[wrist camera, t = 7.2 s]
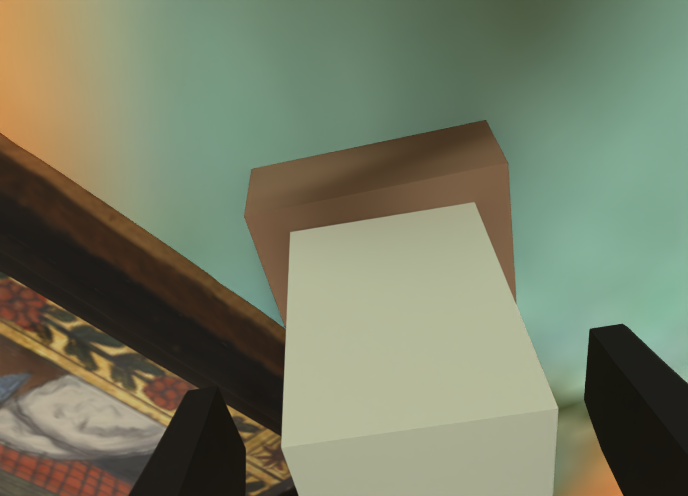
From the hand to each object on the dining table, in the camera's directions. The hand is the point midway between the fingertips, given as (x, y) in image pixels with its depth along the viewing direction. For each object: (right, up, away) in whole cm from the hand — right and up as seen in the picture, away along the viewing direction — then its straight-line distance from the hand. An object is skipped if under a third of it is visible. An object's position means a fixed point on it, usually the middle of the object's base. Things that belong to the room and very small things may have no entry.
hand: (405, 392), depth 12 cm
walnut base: (0, +3, +4) cm, 5 cm away
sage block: (0, +2, +2) cm, 3 cm away
